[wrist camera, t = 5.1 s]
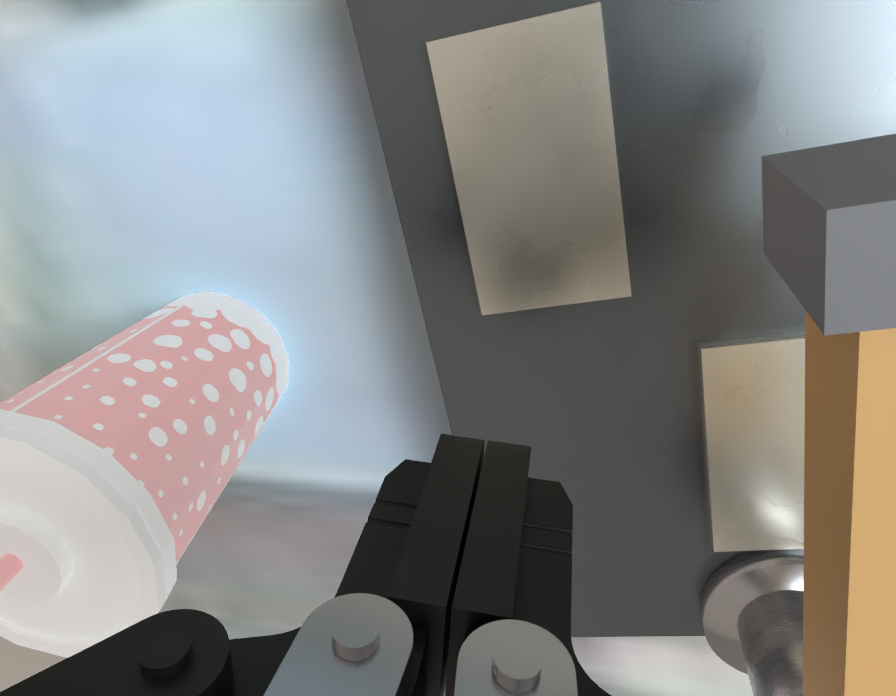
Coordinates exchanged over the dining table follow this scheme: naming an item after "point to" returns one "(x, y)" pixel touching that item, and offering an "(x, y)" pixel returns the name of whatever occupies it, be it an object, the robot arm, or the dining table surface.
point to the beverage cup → (126, 466)
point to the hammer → (844, 400)
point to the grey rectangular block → (629, 275)
